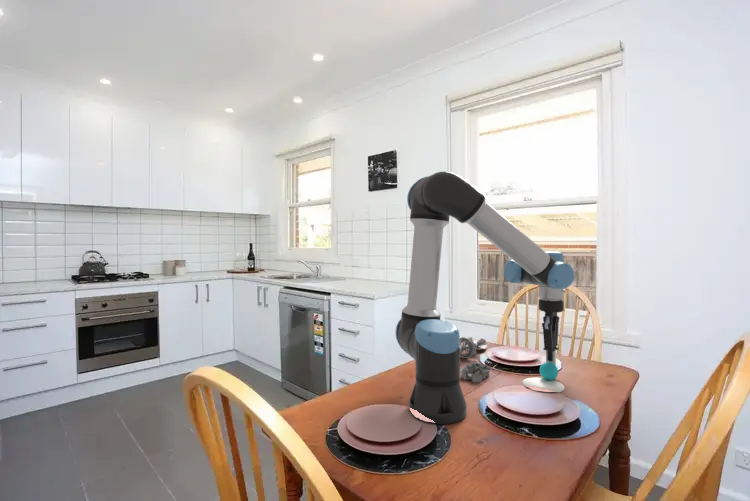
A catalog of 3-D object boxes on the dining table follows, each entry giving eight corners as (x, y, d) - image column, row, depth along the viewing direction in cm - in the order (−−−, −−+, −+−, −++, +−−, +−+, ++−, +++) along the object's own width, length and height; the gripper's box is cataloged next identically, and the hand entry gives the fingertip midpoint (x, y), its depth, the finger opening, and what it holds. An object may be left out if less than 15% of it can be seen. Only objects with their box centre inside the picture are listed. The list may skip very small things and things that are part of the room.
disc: (559, 396, 111) (559, 395, 111) (517, 386, 119) (517, 386, 119) (568, 383, 121) (568, 383, 121) (528, 375, 128) (528, 374, 128)
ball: (556, 385, 122) (554, 375, 120) (538, 381, 126) (536, 370, 123) (561, 371, 126) (558, 361, 123) (543, 367, 129) (540, 357, 126)
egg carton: (478, 384, 122) (477, 372, 121) (457, 378, 127) (457, 367, 126) (493, 375, 129) (493, 363, 129) (473, 370, 134) (473, 359, 134)
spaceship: (426, 344, 138) (444, 339, 133) (474, 335, 163) (491, 331, 158) (432, 367, 135) (451, 363, 130) (480, 354, 161) (497, 350, 156)
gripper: (558, 303, 119) (558, 378, 120) (567, 296, 129) (567, 366, 130) (533, 300, 123) (533, 373, 124) (543, 294, 133) (544, 361, 135)
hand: (551, 369), depth 127 cm, fingers closed
